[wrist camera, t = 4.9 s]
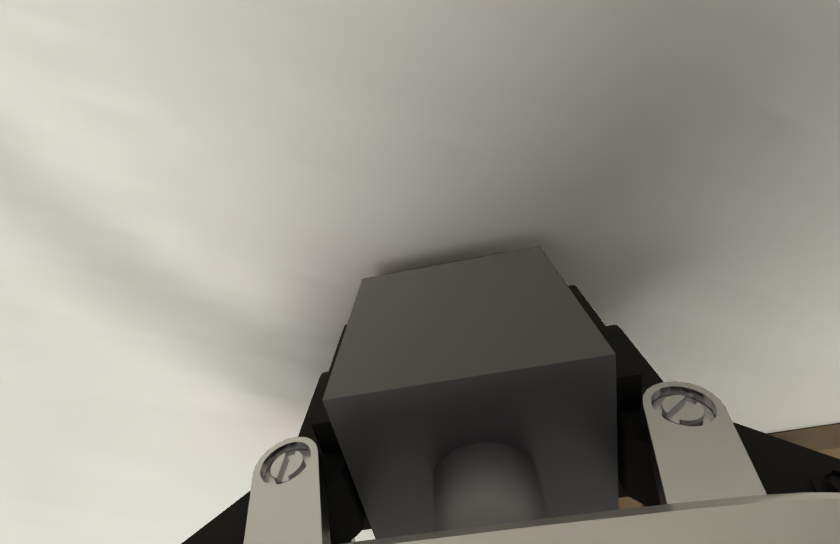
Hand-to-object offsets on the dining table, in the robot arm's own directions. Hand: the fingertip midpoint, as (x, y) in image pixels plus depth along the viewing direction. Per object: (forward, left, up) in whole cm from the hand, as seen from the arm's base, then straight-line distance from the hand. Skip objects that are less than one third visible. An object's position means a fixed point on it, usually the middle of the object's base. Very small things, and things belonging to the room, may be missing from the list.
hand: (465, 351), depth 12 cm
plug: (0, 0, -1) cm, 1 cm away
